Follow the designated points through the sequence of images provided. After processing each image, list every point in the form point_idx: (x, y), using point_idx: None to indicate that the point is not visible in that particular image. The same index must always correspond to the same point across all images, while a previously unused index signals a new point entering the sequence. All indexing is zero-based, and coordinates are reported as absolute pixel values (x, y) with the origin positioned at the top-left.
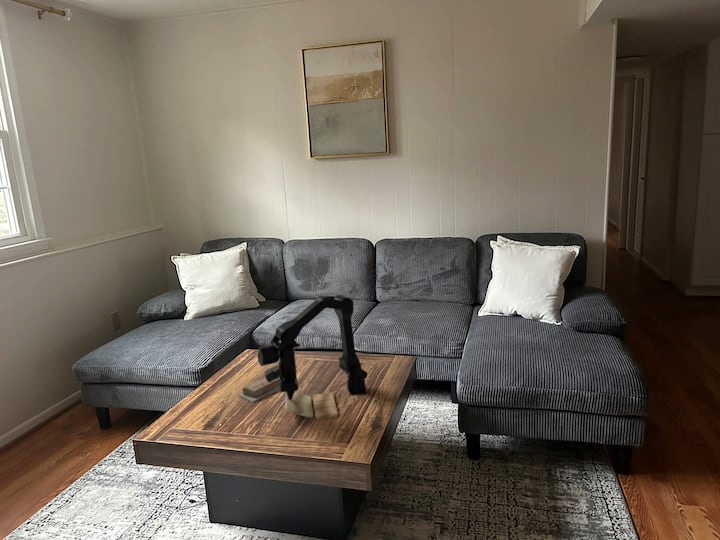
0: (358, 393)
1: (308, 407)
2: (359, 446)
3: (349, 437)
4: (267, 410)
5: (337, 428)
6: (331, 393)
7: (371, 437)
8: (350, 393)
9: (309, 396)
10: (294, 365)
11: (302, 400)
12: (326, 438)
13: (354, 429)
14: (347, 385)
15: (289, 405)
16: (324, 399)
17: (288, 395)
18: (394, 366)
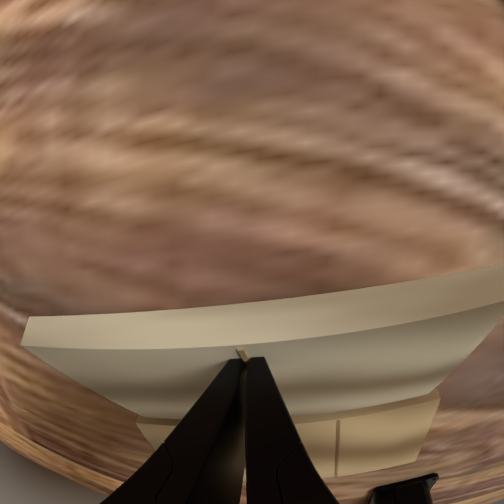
0: (370, 500)
1: None
2: (31, 450)
3: (56, 451)
4: (314, 38)
5: (90, 446)
6: (404, 461)
7: (76, 478)
8: (377, 492)
9: (423, 393)
10: None
11: (322, 397)
12: (24, 407)
13: (100, 471)
14: (417, 499)
15: (86, 360)
16: (347, 453)
17: (196, 412)
18: (487, 497)
